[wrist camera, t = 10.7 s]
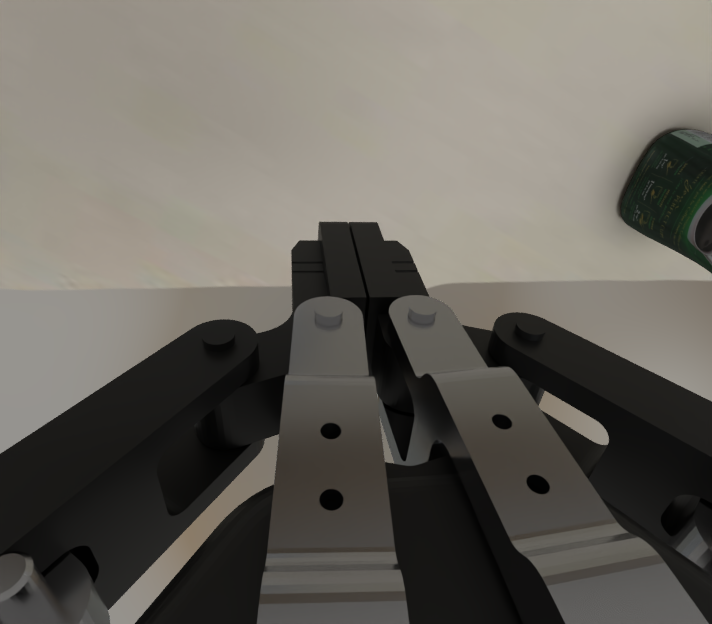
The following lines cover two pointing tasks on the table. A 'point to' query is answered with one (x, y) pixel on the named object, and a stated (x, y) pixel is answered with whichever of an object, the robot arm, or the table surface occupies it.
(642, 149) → the table surface
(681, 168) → the coffee jar
